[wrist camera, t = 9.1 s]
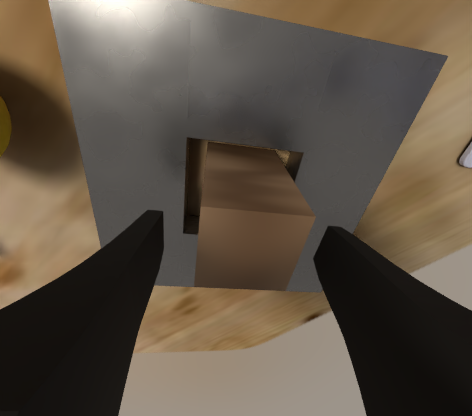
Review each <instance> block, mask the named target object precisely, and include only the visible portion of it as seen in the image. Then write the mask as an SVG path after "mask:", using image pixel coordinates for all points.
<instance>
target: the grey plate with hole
mask: <svg viewBox="0 0 472 416" xmlns="http://www.w3.org/2000/svg"><path fill="white" fill-rule="evenodd" d="M48 1H49V6H50V11H51V15H52V20H53V25H54V29H55V34H56V39H57V43H58V48H59V53H60V57H61V62H62V67H63V71H64V76H65V81H66V86H67V90H68V95H69V100H70V104H71V109H72V114H73V118H74V123H75V128H76V132H77V137H78V142H79V146H80V151H81V156H82V160H83V165H84V170H85V175H86V179H87V184H88V189H89V193H90V198H91V203H92V207H93V212H94V217H95V221H96V226H97V231H98V235H99V240H100V245H101V248H103V247H104V246H105V245H107V244H108V243H109V242H110V241H112V240H113V239H114V238H115V237H117V236H118V235H119V234H120V233H121V232H123V231H124V230H125V229H126V228H127V227H128V226H130V225H131V224H132V223H133V222H134V221H135V220H136V219H137V218H139V217H140V216H141V215H142V214H143V213H144V212H145V211H147V210H159V211H163V218H164V251H163V256H162V261H161V265H160V269H159V273H158V275H157V278H156V281H155V284H154V285H159V286H182V287H194V280H195V268H196V256H197V244H198V233H199V221H200V216H189V215H187V195H188V173H189V152H190V138H197V139H204V140H212V141H219V142H227V143H235V144H242V145H250V146H258V147H265V148H273V149H280V150H288V151H290V155H289V158H288V162H287V165H286V170H287V171H288V173H289V175H290V176H291V178H292V179H293V181H294V183H295V184H296V186H297V187H298V189H299V191H300V192H301V194H302V195H303V197H304V199H305V200H306V202H307V203H308V205H309V207H310V208H311V210H312V211H313V213H314V215H315V216H316V218H315V221H314V223H313V226H312V228H311V230H310V233H309V235H308V238H307V240H306V243H305V245H304V247H303V250H302V252H301V255H300V257H299V259H298V262H297V264H296V267H295V269H294V272H293V274H292V276H291V279H290V281H289V284H288V286H287V289H286V291H299V292H321V291H322V289H323V288H322V286H321V283H320V281H319V278H318V275H317V272H316V268H315V264H314V260H313V257H314V255H315V253H316V251H317V249H318V246H319V244H320V242H321V240H322V238H323V235H324V233H325V231H326V229H327V227H328V226H339V227H342V228H344V229H345V230H347V231H348V232H350V233H351V234H353V232H354V230H355V228H356V226H357V225H358V223H359V221H360V219H361V217H362V215H363V213H364V212H365V210H366V208H367V206H368V204H369V202H370V200H371V199H372V197H373V195H374V193H375V191H376V189H377V187H378V186H379V184H380V182H381V180H382V178H383V176H384V174H385V173H386V171H387V169H388V167H389V165H390V163H391V161H392V160H393V158H394V156H395V154H396V152H397V150H398V149H399V147H400V145H401V143H402V141H403V139H404V137H405V136H406V134H407V132H408V130H409V128H410V126H411V124H412V123H413V121H414V119H415V117H416V115H417V113H418V111H419V110H420V108H421V106H422V104H423V102H424V100H425V98H426V97H427V95H428V93H429V91H430V89H431V87H432V85H433V84H434V82H435V80H436V78H437V76H438V74H439V73H440V71H441V69H442V67H443V65H444V63H445V61H446V60H447V58H448V56H446V55H441V54H437V53H432V52H427V51H422V50H418V49H413V48H408V47H404V46H399V45H394V44H389V43H385V42H380V41H375V40H371V39H366V38H361V37H356V36H352V35H347V34H342V33H338V32H333V31H328V30H323V29H319V28H314V27H309V26H305V25H300V24H295V23H290V22H286V21H281V20H276V19H272V18H267V17H262V16H257V15H253V14H248V13H243V12H239V11H234V10H229V9H224V8H220V7H215V6H210V5H206V4H201V3H196V2H191V1H187V0H48ZM206 288H208V287H206ZM229 289H231V288H229ZM252 290H254V289H252ZM276 291H277V290H276Z"/></svg>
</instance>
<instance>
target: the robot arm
mask: <svg viewBox="0 0 472 416" xmlns="http://www.w3.org/2000/svg"><path fill="white" fill-rule="evenodd" d="M459 163H460V165H463V166H465V167H469V168H472V142H471V143H470V145H469V146H468V148H467V149H466V151H465V152H464V153H463V155H462V156H461V158H460V161H459ZM163 251H164V218H163V211H159V210H147V211H145V212H144V213H143V214H142V215H141V216H140V217H139V218H137V219H136V220H135V221H134V222H133V223H132V224H131V225H130V226H128V227H127V228H126V229H125V230H124V231H123V232H121V233H120V234H119V235H118V236H117V237H115V238H114V239H113V240H112V241H110V242H109V243H108V244H107V245H105V246H104V247H103V248H101V249H100V250H99V251H97V252H96V253H95V254H93V255H92V256H91V257H89V258H88V259H86V260H85V261H84V262H82V263H81V264H79V265H78V266H76V267H75V268H73V269H71V270H70V271H68V272H67V273H65V274H64V275H62V276H60V277H59V278H57V279H55V280H54V281H52V282H50V283H48V284H47V285H45V286H43V287H41V288H39V289H38V290H36V291H34V292H32V293H30V294H29V295H27V296H25V297H23V298H21V299H20V300H18V301H16V302H14V303H12V304H10V305H8V306H6V307H4V308H2V309H0V416H118V414H119V410H120V405H121V401H122V396H123V392H124V388H125V383H126V379H127V375H128V371H129V367H130V362H131V358H132V354H133V350H134V346H135V342H136V338H137V334H138V331H139V328H140V324H141V321H142V318H143V316H144V313H145V310H146V307H147V304H148V301H149V298H150V296H151V293H152V290H153V287H154V284H155V281H156V278H157V275H158V273H159V269H160V265H161V261H162V256H163ZM313 260H314V264H315V268H316V272H317V275H318V278H319V281H320V283H321V286H322V288H323V290H324V293H325V295H326V297H327V300H328V302H329V304H330V306H331V309H332V311H333V313H334V315H335V318H336V320H337V322H338V324H339V327H340V329H341V332H342V334H343V337H344V340H345V343H346V346H347V349H348V352H349V355H350V358H351V361H352V365H353V368H354V371H355V375H356V378H357V381H358V385H359V388H360V391H361V395H362V400H363V403H364V407H365V411H366V415H367V416H472V311H471V310H469V309H467V308H465V307H463V306H461V305H460V304H458V303H456V302H454V301H452V300H451V299H449V298H447V297H445V296H444V295H442V294H440V293H438V292H437V291H435V290H434V289H432V288H430V287H428V286H427V285H425V284H424V283H422V282H420V281H419V280H417V279H415V278H414V277H412V276H411V275H410V274H408V273H407V272H405V271H404V270H402V269H401V268H399V267H398V266H396V265H395V264H393V263H392V262H390V261H389V260H388V259H386V258H385V257H383V256H382V255H381V254H379V253H378V252H376V251H375V250H374V249H372V248H371V247H370V246H368V245H367V244H365V243H364V242H363V241H361V240H360V239H359V238H357V237H356V236H354V235H353V234H351V233H350V232H348V231H347V230H345V229H344V228H342V227H339V226H328V227H327V229H326V231H325V233H324V235H323V238H322V240H321V242H320V244H319V246H318V249H317V251H316V253H315V255H314V257H313Z"/></svg>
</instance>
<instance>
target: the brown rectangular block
mask: <svg viewBox="0 0 472 416" xmlns="http://www.w3.org/2000/svg"><path fill="white" fill-rule="evenodd" d="M315 218H316V216H315V215H314V213H313V211H312V210H311V208H310V207H309V205H308V203H307V202H306V200H305V199H304V197H303V195H302V194H301V192H300V191H299V189H298V187H297V186H296V184H295V183H294V181H293V179H292V178H291V176H290V175H289V173H288V171H287V170H286V168H285V167H284V165H283V163H282V162H281V160H280V159H279V157H278V155H277V154H276V152H275V151H274V150H267V149H260V148H252V147H244V146H237V145H229V144H222V143H214V142H208V146H207V155H206V164H205V173H204V182H203V190H202V199H201V209H200V221H199V233H198V244H197V256H196V268H195V280H194V287H208V288H231V289H254V290H277V291H286V289H287V286H288V284H289V281H290V279H291V276H292V274H293V272H294V269H295V267H296V264H297V262H298V259H299V257H300V255H301V252H302V250H303V247H304V245H305V243H306V240H307V238H308V235H309V233H310V230H311V228H312V226H313V223H314V221H315Z"/></svg>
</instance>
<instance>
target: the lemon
mask: <svg viewBox="0 0 472 416" xmlns="http://www.w3.org/2000/svg"><path fill="white" fill-rule="evenodd" d="M11 131H12V127H11V119H10V114H9V112H8V109H7V107H6V104H5V102H4V100H3V99H2V97H1V96H0V157H1V156H2V154H3V153H4V151H5V150H6V148H7V147H8V145H9V141H10V136H11Z"/></svg>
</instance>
